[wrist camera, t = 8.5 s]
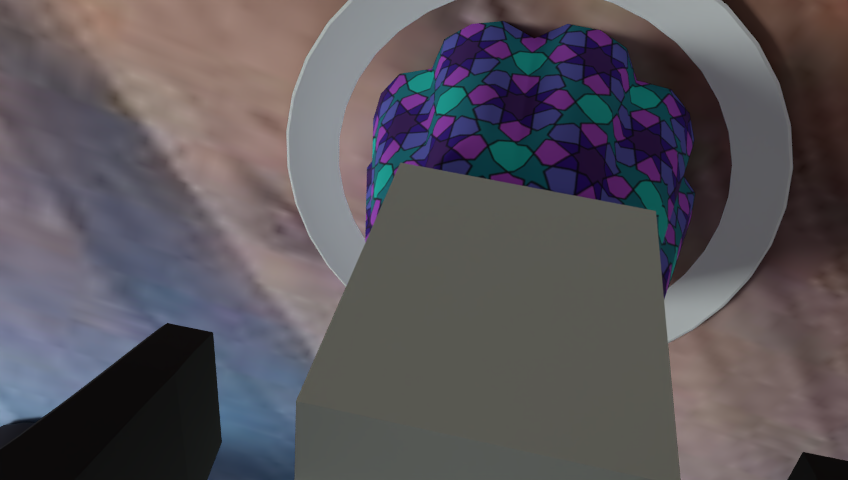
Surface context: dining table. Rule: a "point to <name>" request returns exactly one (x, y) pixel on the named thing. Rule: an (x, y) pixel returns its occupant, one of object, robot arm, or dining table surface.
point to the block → (494, 342)
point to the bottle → (12, 431)
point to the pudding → (552, 130)
